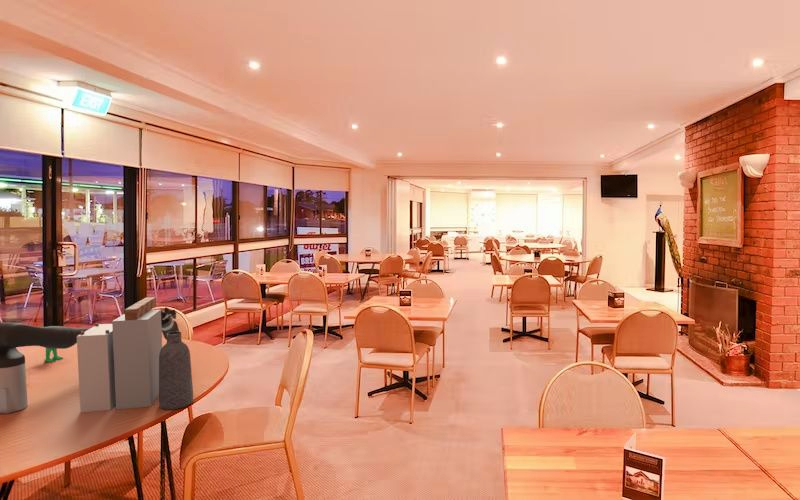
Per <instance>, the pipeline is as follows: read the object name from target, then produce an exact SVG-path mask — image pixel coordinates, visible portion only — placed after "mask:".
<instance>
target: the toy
mask: <svg viewBox="0 0 800 500" xmlns="http://www.w3.org/2000/svg"><path fill="white" fill-rule="evenodd" d="M51 352H52V356H53V357H50V356H51ZM63 359H64V357H62V356H59V355H58V349H54V348H45V359H44V360H43V362H46V363H53V362H56V360H63Z"/></svg>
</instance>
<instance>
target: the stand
mask: <svg viewBox="0 0 800 500" xmlns="http://www.w3.org/2000/svg"><path fill="white" fill-rule="evenodd" d="M161 311H162V309H151V310H150V311H148V312H147V313H145V314H144V315H143V316H141V317H140V318H138V319H137V320H125V313H124V314H121V315H120V316H118V317H117V318H116V319H114V320H112V321H111V322H112V323H102V324H101V323H98V322H95V323H94V326H92V327H89V328H90V329H89V330H87V331H85V332H84V331H81V332H80V335H78V336H77V343H76V347H77V348H76V349H77V370H78V387H79V388H78V391H79V407H80V409H79V410H80V411H79V412H80V413H92V412H93V413H94V412H103V411H111V409H113V408H114V407H115V409H116V410H126V409H136V408H137V409H139V408H146V407H147V408H148V407H152V405H153V404H154V402H155V401H156V400H157V398H159V354H160V351H161V349H162V347H163V336H162V335H163V333H162V327H161Z"/></svg>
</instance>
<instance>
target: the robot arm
mask: <svg viewBox="0 0 800 500" xmlns="http://www.w3.org/2000/svg"><path fill="white" fill-rule="evenodd" d="M177 314H178V313H177V312H176V309H172V310H171V309H170V308H168V307H164V310H161V327H162V335H163V337H164V340H166V341H167V333H169V332H176V331H178V332H180V330H179V326H178V323H177V321H176V319H177ZM90 328H91V327H71V326H61V325H48V326H35V325H30V324H25V323H19V322H8V321H7V322H6V321H1V322H0V414H5V415H8V414H10V413H14V412H18V411H21V410H24V409H26V408H27V407H28V405H29V400H28V388H27V387H28V386H27V384H28V383H27V372H26V371H27V368H26V357H25V355H24V354H23V352H20V351H19V350H18V349H17V348H21V347H22V348H23V347H42V348H45V349H46V348H54V349H57V350H58V349H59V350H60V349H61V350H64V349H66V350H67V349H69V348H71V347H73V346H75V345H77V336H78V335H80V332H81V331H84V332H85V331H87V330H89V329H90Z"/></svg>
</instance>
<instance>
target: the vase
mask: <svg viewBox="0 0 800 500" xmlns="http://www.w3.org/2000/svg"><path fill="white" fill-rule="evenodd" d="M182 340H183V339H182V332H181V331H179V332H178V331H176V332H169V333H167V340H166V343H165V344H164V345H162V349H161V351H160V354H159V396H158V406H159V407H160V409H161V410H162V409H163V410H168V411H169V410H170V411H171V410H172V411H173V410H178V409H182V408H186V407H188V406H190V405H192V404H193V402H194V389H193V386H194V385H193V375H192V374H193V373H192V361H191V353H190V351H191V350H190V348H189V346H188V345H187V344H186V343H185V342H184V341H182Z"/></svg>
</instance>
